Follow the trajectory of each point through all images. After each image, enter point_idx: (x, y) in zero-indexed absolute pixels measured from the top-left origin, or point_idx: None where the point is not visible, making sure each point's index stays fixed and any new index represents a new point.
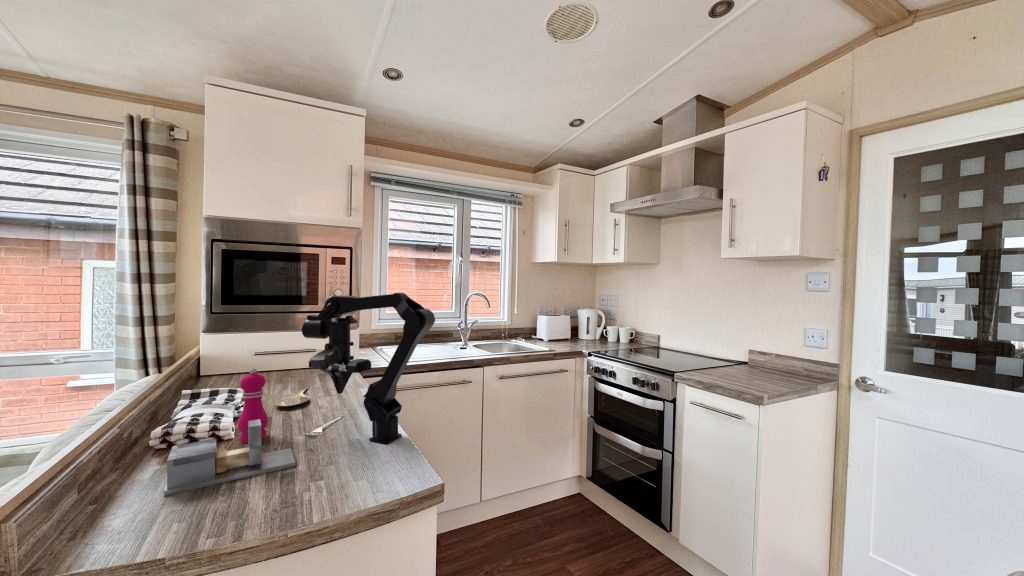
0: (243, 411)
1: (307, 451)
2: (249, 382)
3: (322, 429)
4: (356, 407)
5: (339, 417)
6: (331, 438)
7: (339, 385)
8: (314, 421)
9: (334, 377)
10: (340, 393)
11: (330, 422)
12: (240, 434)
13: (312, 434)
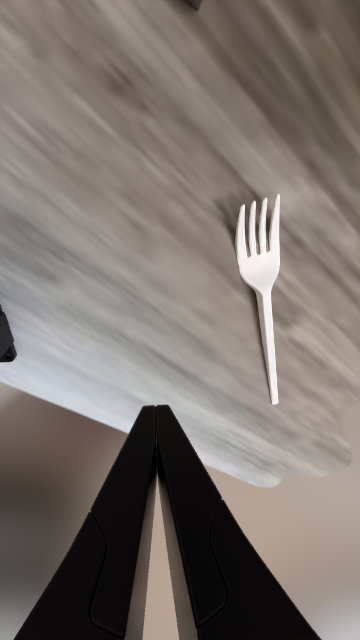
0: None
1: (123, 60)
2: None
3: (255, 291)
4: (284, 452)
5: (276, 387)
6: (154, 242)
7: (114, 478)
8: (339, 336)
9: (197, 609)
10: (142, 412)
11: (269, 343)
12: None
13: (238, 217)
